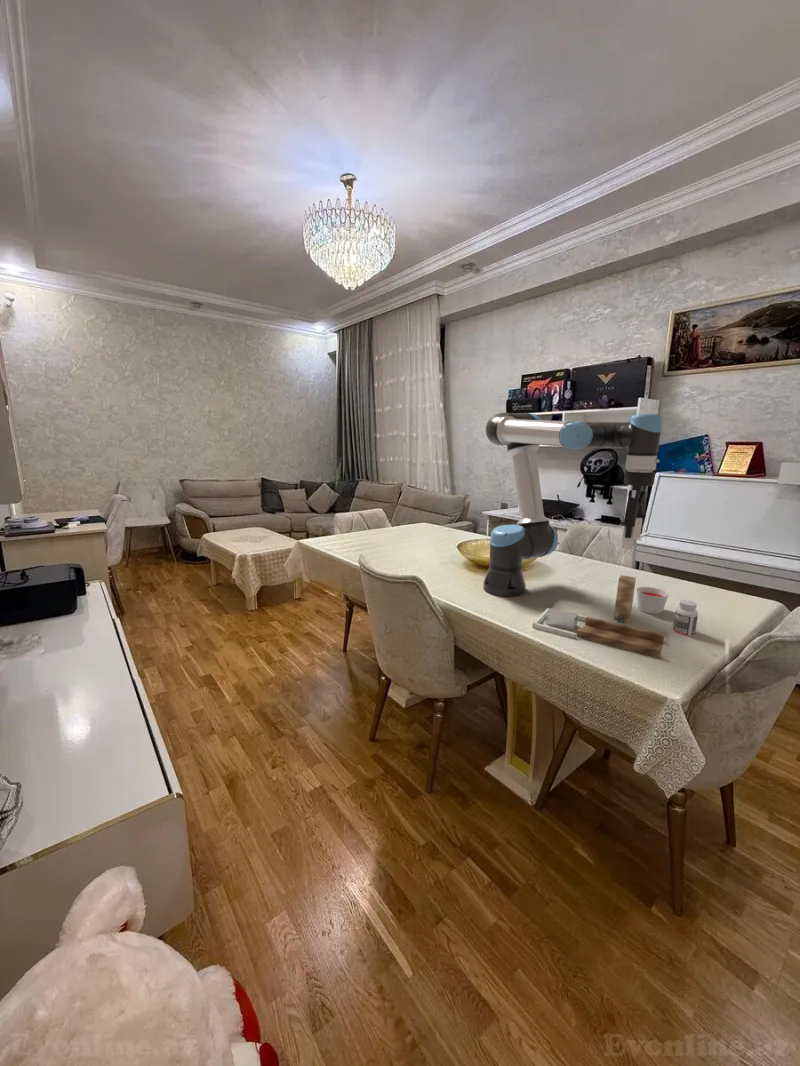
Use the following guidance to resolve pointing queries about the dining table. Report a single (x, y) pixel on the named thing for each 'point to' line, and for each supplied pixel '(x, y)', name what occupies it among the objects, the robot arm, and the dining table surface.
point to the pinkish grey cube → (568, 620)
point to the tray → (552, 629)
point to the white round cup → (651, 599)
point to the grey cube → (553, 617)
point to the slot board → (622, 636)
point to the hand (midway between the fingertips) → (630, 543)
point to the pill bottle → (685, 618)
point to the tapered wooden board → (624, 598)
